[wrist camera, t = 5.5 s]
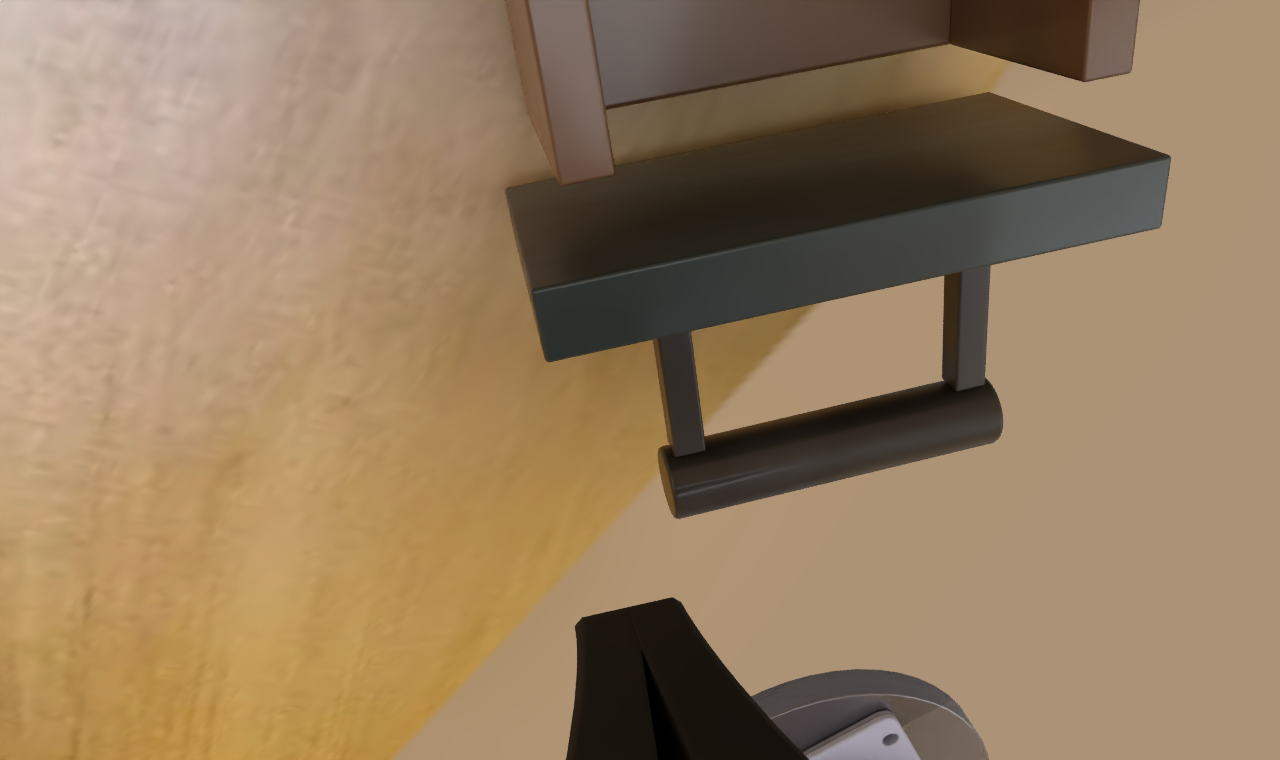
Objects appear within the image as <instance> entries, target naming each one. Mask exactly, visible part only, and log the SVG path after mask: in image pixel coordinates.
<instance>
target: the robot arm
mask: <svg viewBox="0 0 1280 760" xmlns="http://www.w3.org/2000/svg"><path fill="white" fill-rule="evenodd" d="M575 630H576V638H577V678H576V691H575V702H574V710H573V717H572V724H571V731H570V738H569V745H568V752H567V758H566V760H921V759H920V757H919V756H918V754H917V752H916V751H915V749H914V747H913V745H912V744H911V742H910V740H909V739H908V737H907V735H906V734H905V732H904V730H903V728H902V727H901V725H900V723H899V722H898V720H897V718H896V717H895V715H894V714H893V713H892V712H890V711H886V710H885V711H879V712H876V713H874V714H872V715H870V716H868V717H866V718H864V719H863V720H861V721H859V722H857V723H855V724H853V725H851V726H850V727H848V728H846V729H844V730H842V731H840V732H839V733H837V734H835V735H833V736H831V737H829V738H827V739H826V740H824V741H822V742H820V743H818V744H816V745H814V746H813V747H811V748H809V749H807V750H805V751H803V752H801V751H800V750H799V749H798V748H797V747H796V746H795V745H794V744H793V743H792V742H791V740H790V739H789V738H788V737H787V736H786V735H785V734H784V733H783V732H782V731H781V730H780V729H779V728H778V727H777V726H776V725H775V724H774V722H773V721H772V720H771V719H770V718H769V717H768V716H767V715H766V714H765V712H764V711H763V710H762V709H761V708H760V707H759V706H758V704H757V703H756V702H755V701H754V700H753V699H752V698H751V696H750V695H749V694H748V693H747V692H746V691H745V689H744V688H743V687H742V686H741V685H740V684H739V683H738V681H737V680H736V679H735V678H734V676H733V675H732V674H731V673H730V672H729V670H728V669H727V668H726V667H725V665H724V664H723V663H722V661H721V660H720V659H719V657H718V656H717V655H716V654H715V652H714V651H713V650H712V648H711V647H710V646H709V644H708V643H707V641H706V640H705V639H704V638H703V636H702V634H701V633H700V632H699V630H698V629H697V627H696V626H695V624H694V623H693V621H692V620H691V618H690V616H689V615H688V613H687V612H686V610H685V608H684V606H683V605H682V603H681V602H679V601H678V600H676V599H675V598H667V599H663V600H658V601H654V602H649V603H645V604H640V605H636V606H632V607H627V608H623V609H618V610H614V611H609V612H605V613H600V614H596V615H592V616H587V617H582V618H581V620H580V621H579V622H578V623H577V624H576V626H575Z"/></svg>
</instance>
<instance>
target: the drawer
mask: <svg viewBox="0 0 1280 760" xmlns="http://www.w3.org/2000/svg"><path fill="white" fill-rule="evenodd" d="M505 2H506V7H507V12H508V17H509V22H510V27H511V32H512V37H513V43H514V48H515V53H516V58H517V63H518V68H519V73H520V78H521V83H522V88H523V93H524V98H525V103H526V108H527V112H528V114H529V117H530V119H531V122H532V124H533V126H534V129H535V131H536V133H537V135H538V138H539V140H540V142H541V144H542V147H543V149H544V151H545V153H546V156H547V158H548V160H549V162H550V165H551V167H552V169H553V171H554V173H555V176H556V178H554V179H549V180H544V181H539V182H534V183H529V184H524V185H519V186H513V187H508V188H506V189H505V194H506V199H507V203H508V208H509V212H510V217H511V222H512V226H513V231H514V235H515V240H516V244H517V248H518V252H519V256H520V260H521V265H522V269H523V273H524V277H525V281H526V285H527V289H528V293H529V297H530V301H531V305H532V309H533V313H534V317H535V321H536V325H537V330H538V334H539V338H540V342H541V346H542V350H543V354H544V358H545V360H546V361H547V362H553V361H557V360H562V359H566V358H571V357H575V356H580V355H585V354H589V353H594V352H598V351H603V350H607V349H612V348H616V347H621V346H625V345H630V344H635V343H639V342H644V341H648V340H653V344H654V350H655V357H656V364H657V370H658V377H659V384H660V390H661V397H662V403H663V410H664V417H665V423H666V430H667V437H668V442H669V444H670V445H665V446H661V447H660V448H659V449H658V463H659V470H660V475H661V480H662V484H663V488H664V492H665V496H666V499H667V502H668V505H669V508H670V511H671V513H672V515H673V516H674V517H675V518H677V519H680V518H684V517H689V516H693V515H696V514H701V513H705V512H709V511H713V510H717V509H722V508H725V507H730V506H733V505H738V504H742V503H746V502H750V501H755V500H759V499H763V498H767V497H771V496H775V495H779V494H784V493H787V492H792V491H796V490H800V489H804V488H808V487H812V486H816V485H821V484H825V483H829V482H833V481H837V480H841V479H845V478H850V477H854V476H857V475H862V474H866V473H870V472H874V471H878V470H883V469H887V468H891V467H895V466H899V465H903V464H907V463H911V462H916V461H920V460H924V459H928V458H932V457H936V456H940V455H945V454H949V453H953V452H957V451H961V450H965V449H969V448H973V447H977V446H982V445H985V444H990V443H993V442H995V441H996V440H997V439H998V438H999V437H1000V435H1001V433H1002V429H1003V414H1002V408H1001V404H1000V401H999V398H998V396H997V393H996V392H995V389H994V388H993V386H992V385H991V383H990V382H989V381H988V380H987V379H986V378H985V365H986V344H987V323H988V304H989V284H990V265H993V264H998V263H1003V262H1007V261H1012V260H1016V259H1021V258H1026V257H1030V256H1035V255H1039V254H1044V253H1048V252H1053V251H1057V250H1062V249H1066V248H1071V247H1076V246H1080V245H1085V244H1089V243H1094V242H1098V241H1103V240H1107V239H1112V238H1116V237H1121V236H1126V235H1130V234H1135V233H1139V232H1144V231H1148V230H1152V229H1157V228H1160V226H1161V224H1162V217H1163V210H1164V203H1165V196H1166V189H1167V183H1168V176H1169V169H1170V162H1171V157H1170V156H1169V155H1167V154H1164V153H1161V152H1159V151H1156V150H1153V149H1150V148H1147V147H1144V146H1141V145H1138V144H1136V143H1133V142H1130V141H1127V140H1124V139H1121V138H1119V137H1115V136H1113V135H1110V134H1107V133H1104V132H1101V131H1099V130H1096V129H1093V128H1090V127H1087V126H1084V125H1081V124H1079V123H1076V122H1073V121H1070V120H1067V119H1064V118H1061V117H1058V116H1056V115H1053V114H1050V113H1047V112H1044V111H1041V110H1039V109H1036V108H1033V107H1030V106H1027V105H1024V104H1021V103H1019V102H1016V101H1013V100H1010V99H1007V98H1004V97H1001V96H999V95H996V94H993V93H990V92H987V93H982V94H977V95H972V96H967V97H962V98H957V99H952V100H947V101H942V102H937V103H932V104H927V105H922V106H917V107H912V108H907V109H902V110H897V111H892V112H887V113H882V114H877V115H871V116H866V117H861V118H856V119H851V120H846V121H841V122H836V123H831V124H826V125H821V126H816V127H811V128H806V129H801V130H796V131H791V132H786V133H781V134H776V135H771V136H766V137H761V138H756V139H750V140H745V141H740V142H735V143H730V144H725V145H720V146H715V147H710V148H705V149H700V150H695V151H690V152H685V153H680V154H675V155H670V156H665V157H660V158H655V159H650V160H645V161H640V162H634V163H629V164H624V165H619V166H614V160H613V154H612V148H611V141H610V135H609V129H608V122H607V116H606V110H607V109H612V108H618V107H623V106H628V105H633V104H639V103H644V102H649V101H654V100H659V99H665V98H670V97H675V96H680V95H686V94H691V93H696V92H701V91H707V90H712V89H717V88H722V87H727V86H733V85H738V84H743V83H748V82H754V81H759V80H764V79H769V78H774V77H780V76H785V75H790V74H795V73H801V72H806V71H811V70H816V69H821V68H827V67H832V66H837V65H842V64H848V63H853V62H858V61H863V60H868V59H874V58H879V57H884V56H889V55H895V54H900V53H905V52H910V51H916V50H921V49H926V48H931V47H936V46H942V45H947V44H952V45H955V46H959V47H962V48H966V49H969V50H973V51H976V52H980V53H983V54H987V55H990V56H994V57H997V58H1001V59H1005V60H1008V61H1012V62H1015V63H1019V64H1022V65H1026V66H1029V67H1033V68H1036V69H1040V70H1043V71H1047V72H1050V73H1054V74H1057V75H1061V76H1064V77H1068V78H1071V79H1075V80H1079V81H1083V82H1088V81H1093V80H1098V79H1103V78H1108V77H1113V76H1118V75H1123V74H1127V73H1130V72H1131V70H1132V63H1133V54H1134V46H1135V38H1136V28H1137V20H1138V12H1139V3H1140V0H505ZM939 276H944V317H943V360H942V362H943V363H942V378H943V379H944V381H940V382H936V383H932V384H927V385H923V386H919V387H915V388H910V389H906V390H901V391H898V392H893V393H889V394H884V395H880V396H876V397H871V398H867V399H863V400H859V401H855V402H850V403H846V404H841V405H837V406H833V407H829V408H824V409H820V410H816V411H812V412H807V413H803V414H798V415H794V416H790V417H786V418H781V419H777V420H773V421H768V422H764V423H760V424H756V425H752V426H747V427H743V428H739V429H734V430H730V431H726V432H721V433H717V434H713V435H709V436H704V430H703V422H702V414H701V406H700V398H699V391H698V383H697V375H696V367H695V359H694V351H693V344H692V336H691V331H694V330H698V329H703V328H707V327H712V326H716V325H721V324H725V323H730V322H735V321H739V320H744V319H748V318H753V317H757V316H762V315H766V314H771V313H775V312H780V311H785V310H789V309H794V308H798V307H803V306H807V305H812V304H816V303H821V302H825V301H830V300H834V299H839V298H844V297H848V296H853V295H857V294H862V293H866V292H870V291H875V290H880V289H884V288H889V287H894V286H898V285H903V284H907V283H912V282H916V281H921V280H925V279H930V278H934V277H939Z"/></svg>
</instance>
